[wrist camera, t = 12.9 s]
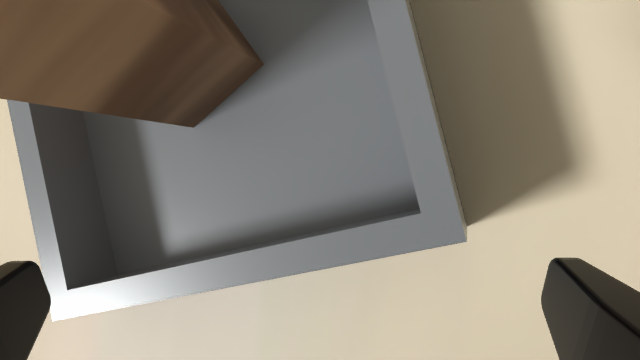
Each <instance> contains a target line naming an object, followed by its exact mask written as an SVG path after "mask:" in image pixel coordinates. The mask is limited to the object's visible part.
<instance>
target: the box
mask: <svg viewBox="0 0 640 360" xmlns="http://www.w3.org/2000/svg"><path fill="white" fill-rule="evenodd" d="M218 1H219V2H220V3H221V5H222V6H223V8H224V9H225V10H226V12H227V13H228V15H229V16H230V17H231V19H232V20H233V22H234V23H235V24H236V26H237V27H238V28H239V30H240V31H241V33H242V34H243V35H244V37H245V38H246V40H247V41H248V42H249V44H250V45H251V47H252V48H253V49H254V51H255V52H256V54H257V55H258V56H259V58H260V59H261V61H262V62H263V63H264V65H263V66H261V67H260V68H259V69H258V70H257V71H256V72H255V73H254V74H253V75H251V76H250V77H249V78H248V79H247V80H246V81H245V82H244V83H243V84H241V85H240V86H239V87H238V88H237V89H236V90H235V91H234V92H233V93H231V94H230V95H229V96H228V97H227V98H226V99H225V100H224V101H223V102H221V103H220V104H219V105H218V106H217V107H216V108H215V109H214V110H213V111H211V112H210V113H209V114H208V115H207V116H206V117H205V118H204V119H203V120H201V121H200V122H199V123H198V124H197V125H196V126H195V127H194V128H192V127H185V126H179V125H172V124H166V123H159V122H152V121H146V120H139V119H133V118H126V117H119V116H113V115H106V114H100V113H93V112H86V111H80V110H73V109H67V108H60V107H53V106H47V105H40V104H34V103H27V102H21V101H14V100H7V102H8V107H9V112H10V116H11V121H12V126H13V131H14V136H15V141H16V146H17V151H18V156H19V161H20V165H21V170H22V175H23V180H24V185H25V190H26V195H27V200H28V205H29V209H30V214H31V219H32V224H33V229H34V234H35V239H36V244H37V249H38V253H39V258H40V263H41V268H42V273H43V278H44V281H45V283H46V286H47V288H48V291H49V293H50V296H51V306H50V312H51V317H52V321H57V320H62V319H67V318H72V317H78V316H83V315H88V314H93V313H98V312H104V311H109V310H114V309H119V308H124V307H130V306H135V305H140V304H145V303H150V302H156V301H161V300H166V299H171V298H176V297H182V296H187V295H192V294H197V293H202V292H207V291H213V290H218V289H223V288H228V287H233V286H239V285H244V284H249V283H254V282H259V281H265V280H270V279H275V278H280V277H285V276H291V275H296V274H301V273H306V272H311V271H317V270H322V269H327V268H332V267H337V266H343V265H348V264H353V263H358V262H363V261H368V260H374V259H379V258H384V257H389V256H394V255H400V254H405V253H410V252H415V251H420V250H426V249H431V248H436V247H441V246H446V245H452V244H457V243H462V242H467V225H466V221H465V217H464V213H463V209H462V206H461V202H460V198H459V194H458V190H457V186H456V182H455V178H454V174H453V170H452V166H451V163H450V159H449V155H448V151H447V147H446V143H445V139H444V135H443V131H442V127H441V123H440V120H439V116H438V112H437V108H436V104H435V100H434V96H433V92H432V88H431V84H430V80H429V77H428V73H427V69H426V65H425V61H424V57H423V53H422V49H421V45H420V41H419V37H418V33H417V30H416V26H415V22H414V18H413V14H412V10H411V6H410V2H409V0H218Z"/></svg>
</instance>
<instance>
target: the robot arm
mask: <svg viewBox="0 0 640 360" xmlns="http://www.w3.org/2000/svg"><path fill="white" fill-rule="evenodd" d="M541 304H542V309H543V312H544V315H545V318H546V321H547V324H548V327H549V330H550V333H551V336H552V339H553V342H554V345H555V348H556V351H557V354H558V357H559V360H640V292H638V291H637V290H635V289H633V288H631V287H630V286H628V285H626V284H624V283H622V282H621V281H619V280H617V279H615V278H614V277H612V276H610V275H608V274H606V273H605V272H603V271H601V270H599V269H597V268H596V267H594V266H592V265H590V264H589V263H587V262H585V261H583V260H581V259H579V258H555V259H553V260H551V262H550V264H549V266H548V271H547V275H546V279H545V283H544V287H543V291H542V296H541ZM50 306H51V296H50V293H49V291H48V288H47V286H46V283H45V281H44V278H43V276H42V273H41V270H40V268H39V266H38V265H37V264H36V263H35V262H32V261H11V262H7V263H5V264H3V265H0V360H27V359H28V356H29V354H30V352H31V350H32V348H33V345H34V343H35V341H36V339H37V337H38V334H39V332H40V330H41V328H42V326H43V323H44V321H45V319H46V317H47V315H48V312H49V310H50Z"/></svg>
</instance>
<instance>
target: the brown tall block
mask: <svg viewBox="0 0 640 360" xmlns="http://www.w3.org/2000/svg"><path fill="white" fill-rule="evenodd" d="M263 65H264V63H263V62H262V61H261V59H260V58H259V56H258V55H257V54H256V52H255V51H254V49H253V48H252V47H251V45H250V44H249V42H248V41H247V40H246V38H245V37H244V35H243V34H242V33H241V31H240V30H239V28H238V27H237V26H236V24H235V23H234V22H233V20H232V19H231V17H230V16H229V15H228V13H227V12H226V10H225V9H224V8H223V6H222V5H221V3H220V2H219V1H218V0H0V98H1V99H7V100H14V101H21V102H27V103H34V104H40V105H47V106H53V107H60V108H67V109H73V110H80V111H86V112H93V113H100V114H106V115H113V116H119V117H126V118H133V119H139V120H146V121H152V122H159V123H166V124H172V125H179V126H185V127H192V128H194V127H195V126H196V125H197V124H198V123H199V122H200V121H201V120H203V119H204V118H205V117H206V116H207V115H208V114H209V113H210V112H211V111H213V110H214V109H215V108H216V107H217V106H218V105H219V104H220V103H221V102H223V101H224V100H225V99H226V98H227V97H228V96H229V95H230V94H231V93H233V92H234V91H235V90H236V89H237V88H238V87H239V86H240V85H241V84H243V83H244V82H245V81H246V80H247V79H248V78H249V77H250V76H251V75H253V74H254V73H255V72H256V71H257V70H258V69H259V68H260V67H261V66H263Z"/></svg>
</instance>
